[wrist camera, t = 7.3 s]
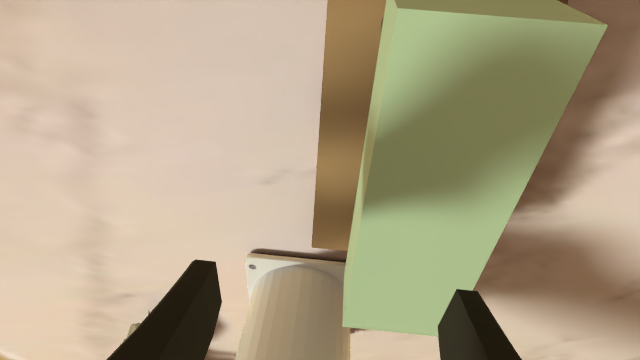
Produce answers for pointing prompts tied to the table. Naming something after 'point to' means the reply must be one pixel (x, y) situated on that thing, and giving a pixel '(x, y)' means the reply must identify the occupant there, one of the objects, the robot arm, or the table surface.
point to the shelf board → (453, 146)
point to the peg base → (345, 114)
